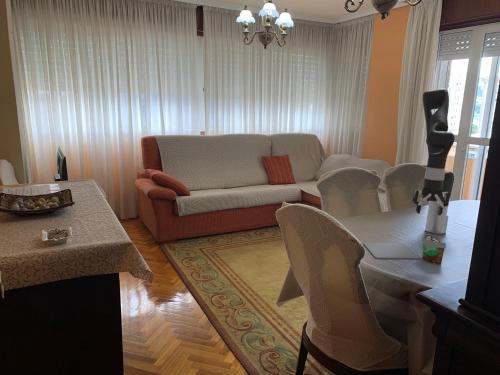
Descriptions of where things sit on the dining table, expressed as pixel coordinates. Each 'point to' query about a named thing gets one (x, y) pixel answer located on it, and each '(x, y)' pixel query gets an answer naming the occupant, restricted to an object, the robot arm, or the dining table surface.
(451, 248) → the dining table surface
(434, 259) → the food container
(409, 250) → the felt mat
